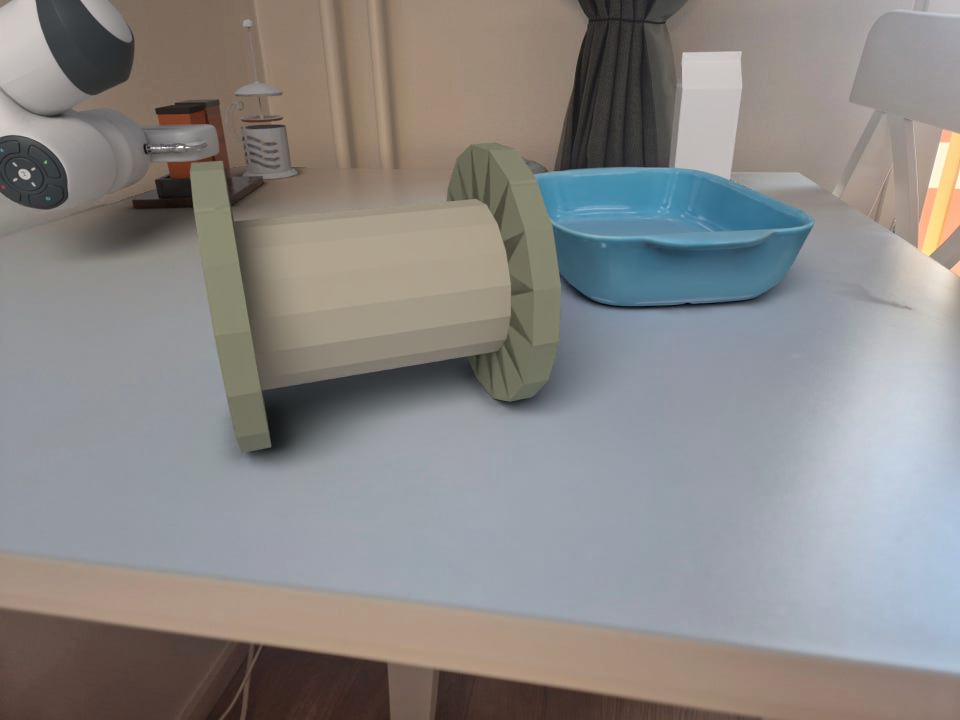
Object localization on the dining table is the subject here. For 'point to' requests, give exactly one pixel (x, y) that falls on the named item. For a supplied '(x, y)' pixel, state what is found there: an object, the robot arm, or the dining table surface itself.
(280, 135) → the french press
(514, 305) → the spool
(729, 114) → the milk carton
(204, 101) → the pad dock
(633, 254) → the casserole dish
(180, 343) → the dining table surface
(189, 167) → the loose pad
